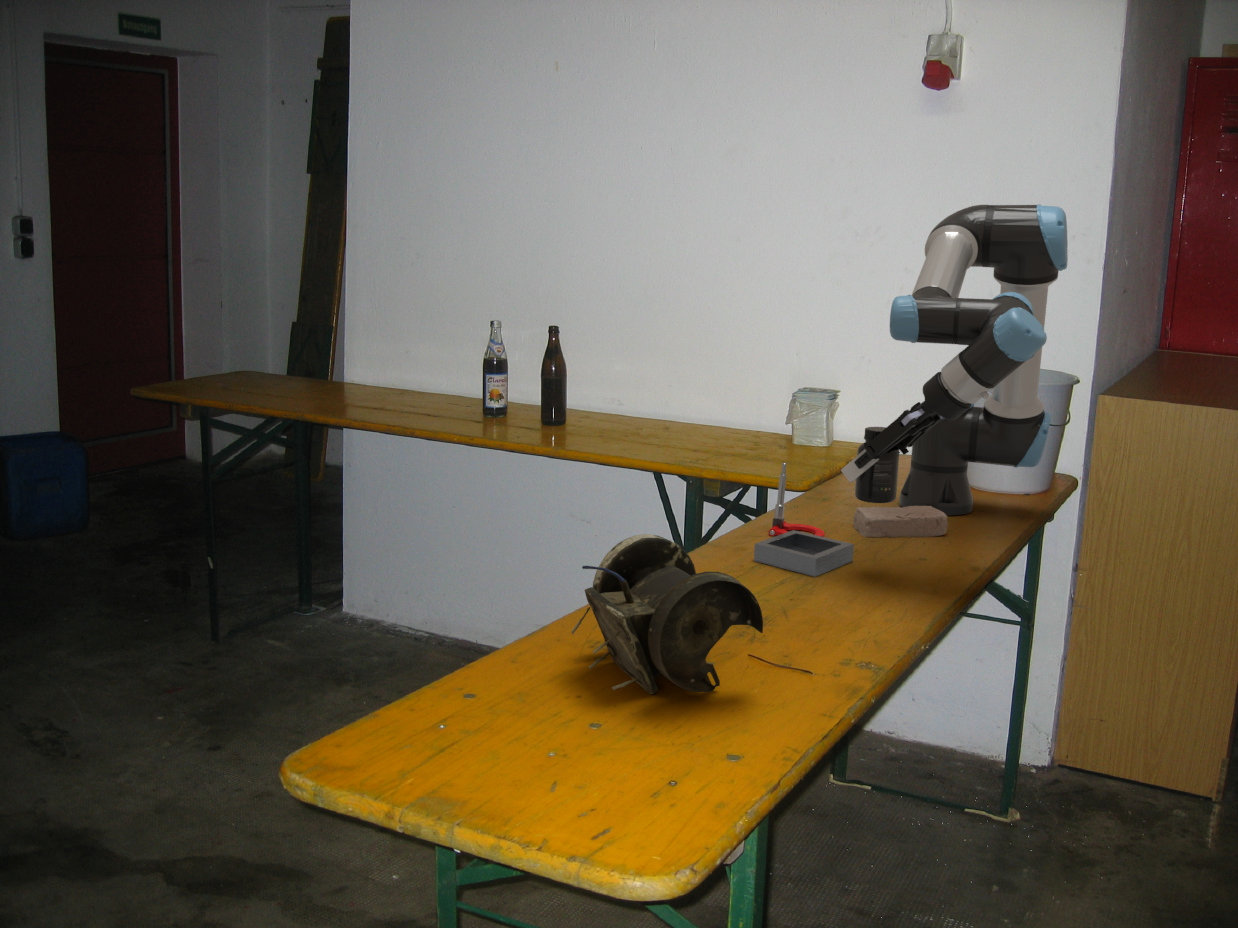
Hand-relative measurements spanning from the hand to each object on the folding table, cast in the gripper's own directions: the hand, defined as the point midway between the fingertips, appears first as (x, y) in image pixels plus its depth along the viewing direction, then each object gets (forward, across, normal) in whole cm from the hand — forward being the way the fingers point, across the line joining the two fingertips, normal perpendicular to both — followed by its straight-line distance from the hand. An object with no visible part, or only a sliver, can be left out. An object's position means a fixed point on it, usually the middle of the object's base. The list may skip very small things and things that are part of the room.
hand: (857, 472), depth 185 cm
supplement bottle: (0, 0, -6) cm, 6 cm away
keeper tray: (+18, -2, -6) cm, 19 cm away
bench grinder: (+10, -59, -15) cm, 62 cm away
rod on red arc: (+25, +12, 0) cm, 28 cm away
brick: (+16, +28, -9) cm, 34 cm away
